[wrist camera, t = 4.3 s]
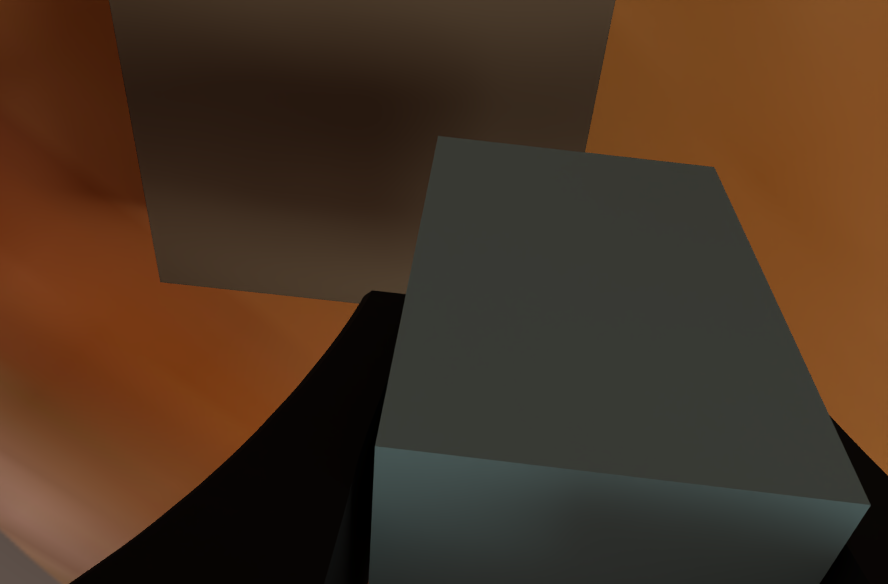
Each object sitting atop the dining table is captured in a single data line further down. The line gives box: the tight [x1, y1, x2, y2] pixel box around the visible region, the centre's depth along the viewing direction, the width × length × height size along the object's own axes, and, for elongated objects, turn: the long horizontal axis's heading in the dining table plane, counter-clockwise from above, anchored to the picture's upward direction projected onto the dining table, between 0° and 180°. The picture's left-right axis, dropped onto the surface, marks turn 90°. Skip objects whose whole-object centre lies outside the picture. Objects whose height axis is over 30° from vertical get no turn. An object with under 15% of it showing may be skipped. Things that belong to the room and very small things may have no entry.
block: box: [369, 136, 871, 584], centre depth 10 cm, size 4×4×6 cm
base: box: [109, 0, 615, 304], centre depth 16 cm, size 9×9×3 cm
